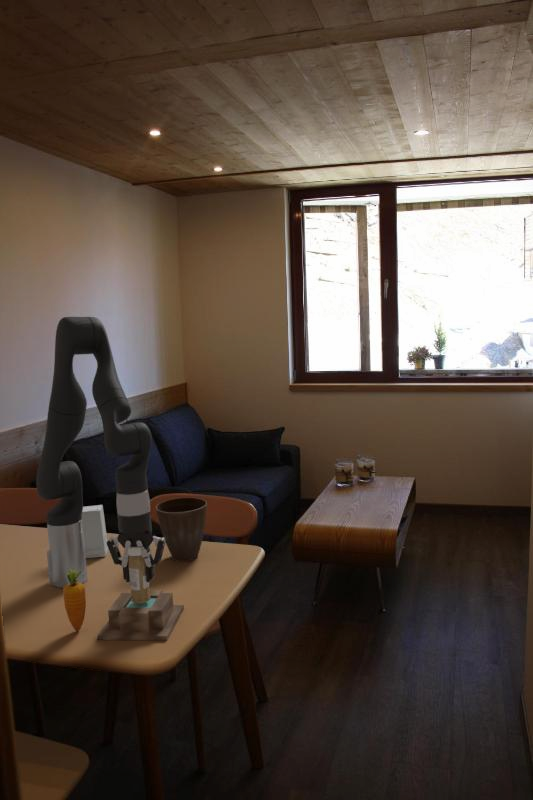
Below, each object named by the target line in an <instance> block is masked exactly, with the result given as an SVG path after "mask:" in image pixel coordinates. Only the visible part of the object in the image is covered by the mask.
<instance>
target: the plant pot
mask: <svg viewBox="0 0 533 800" xmlns="http://www.w3.org/2000/svg"><path fill="white" fill-rule="evenodd" d="M207 510H208V502H207V501H206V500H205V499H203V498H199V497H178V498H172V499H166V500H164V501H162V502H159V503H158V504H156V506H155V511H156V515H157V519H158V524H159V528H160V530H161V534H162V537H165V538H166V541H165V545H166V547H167V548H168V551H169V553H170V555H171V557H172V559H173V560H174V561H176V560H177V561H178V562H188V561H189V562H190V561H192V560H194V559H197V557H198V556H199V553H200V551H201V545H202V542H203V538H204V534H205V527H206V519H207Z"/></svg>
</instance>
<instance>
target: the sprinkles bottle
mask: <svg viewBox="0 0 533 800" xmlns="http://www.w3.org/2000/svg"><path fill="white" fill-rule="evenodd" d="M146 552H147V550H146ZM128 555H129V556H128V562H129V578H130V582H129V585H130V586H129V588H130V593H131V596H132V598H131V601H132V602H133V603H138V604H140V603H145V602H147V601H149V600H150V592H149V590H150V582H147V579H146V563H145V560H144V559H143V558H142V555H141V549H140V548H138V547H130V548H128Z"/></svg>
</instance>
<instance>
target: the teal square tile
mask: <svg viewBox="0 0 533 800" xmlns="http://www.w3.org/2000/svg"><path fill="white" fill-rule="evenodd" d="M156 599H157V598H150V600H149V601H147V602H145V603H140V604H138V603H133V602H132V601H130V602H129V604H128V605H127V607H126V608H151V607H152V605H153V603H154V602H155V600H156Z"/></svg>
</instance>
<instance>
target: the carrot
mask: <svg viewBox="0 0 533 800" xmlns="http://www.w3.org/2000/svg"><path fill="white" fill-rule="evenodd" d="M68 571H69V573H67V577H68V580H69V582H70V584H68V585H66V586H65V587H64V588H62V594H63V601H64V608H65V611H66V615H67V618H68V621H69V622H70V624H71V626H72V628H73V629H74V631H76V632H77V631H78V632H79V631H80V630H81V628H82V626H83V624H84V620H85V616H86V608H87V607H86V606H87V605H86V603H87V602H86V588H85V586H84V583H82V584H81V583H76V582H77V581H78V579H77V578H78V576H79V574H80V573H81V572H82V571H79V572H78V573H77V575H76V571H73V573H72V569H69V570H68ZM75 575H76V576H75Z"/></svg>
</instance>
